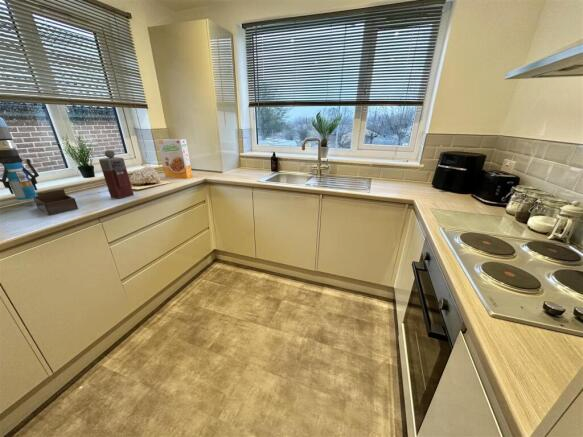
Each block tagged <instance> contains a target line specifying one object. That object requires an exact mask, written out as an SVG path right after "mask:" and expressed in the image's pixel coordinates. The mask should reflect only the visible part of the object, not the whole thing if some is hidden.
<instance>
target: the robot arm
mask: <svg viewBox="0 0 583 437" xmlns="http://www.w3.org/2000/svg"><path fill="white" fill-rule="evenodd" d="M16 148H17V146H16V144H15V142H14V140H13V138H12V135H11V133H10V130H9V128H8V125H7V123H6V121H5V119H4V118H2V117H1V116H0V165H2V166H3V165H4V164H12V163H19V162H20V163H22V164H23V162H24V163H25V164H26V165H27V166H28V168H29V169H30V170H31V171H29V170H28V169H26V168H25V167H24V165H23V166H22V167H23V169H22V170H24V171H25V172H26V173H27V174H28V177H29V178H30V179H31V183H32V185H33V188H34V190H35V191H38V187H37V186H36V185H37V184H38V181H37V179H36V178H38V177H40V175H39V173H38V172H37V170H36V168H34V165H33V164H32V163H31V159H29V158H22V157H21V156H20V154H19V151H18V149H16ZM31 172H32V173H33V174H32V173H31ZM7 174H8V170H6V167H5V168H4V167H3V172H2V176H1V178H0V183H2V185H3V187H4V188H5V189H8V190H9V192H10V194H11V195H15V194H14V192H13V190H12V188H11V186H10V184H9V182H8V178H7Z"/></svg>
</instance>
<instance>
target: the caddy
mask: <svg viewBox="0 0 583 437" xmlns="http://www.w3.org/2000/svg"><path fill="white" fill-rule="evenodd" d="M36 194H37V197H33V201H34V203H35V205H36V207H37V209H39V211H41V212H43V213H44V214H46V215H47V216H54V215H58V214H62V213H63V214H64V213H66V212H71V211H75V210H79V206H78V203H77V201H76V198H75V197H73V196H71V195H69V194H66V191H65V189H64V188H62V189H56V190H55V189H54V190H50V191H44V192H39V193H36Z"/></svg>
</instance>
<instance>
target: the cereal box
mask: <svg viewBox="0 0 583 437" xmlns="http://www.w3.org/2000/svg"><path fill="white" fill-rule="evenodd" d="M157 145H158V150H159V155H160V159H161V164H162V168H163V172H164V177H165V178H168V179H169V178H171V179H185V180H186V179H191V178H193V171H192V165H191V160H190V154H189V149H188V148H189V147H188V143H187V139H186V138H174V139H173V138H169V139H168V138H166V139H164V138H162V139H157Z"/></svg>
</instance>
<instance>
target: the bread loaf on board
mask: <svg viewBox="0 0 583 437" xmlns="http://www.w3.org/2000/svg"><path fill="white" fill-rule="evenodd" d="M129 180H130V183H131V187H132V190H143V189H147V188H151V187H156V186H160V185H161V186H162V185H166V184H170V183H171V184H172V181H166V180H162V179H161V177H160V174H159V173H158V171H157V170H156V169H155V168H154V167H152V166H146V167H143V168H141V169H140V170H134V171H133V174H132V175H131V176H130V177H129Z"/></svg>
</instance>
